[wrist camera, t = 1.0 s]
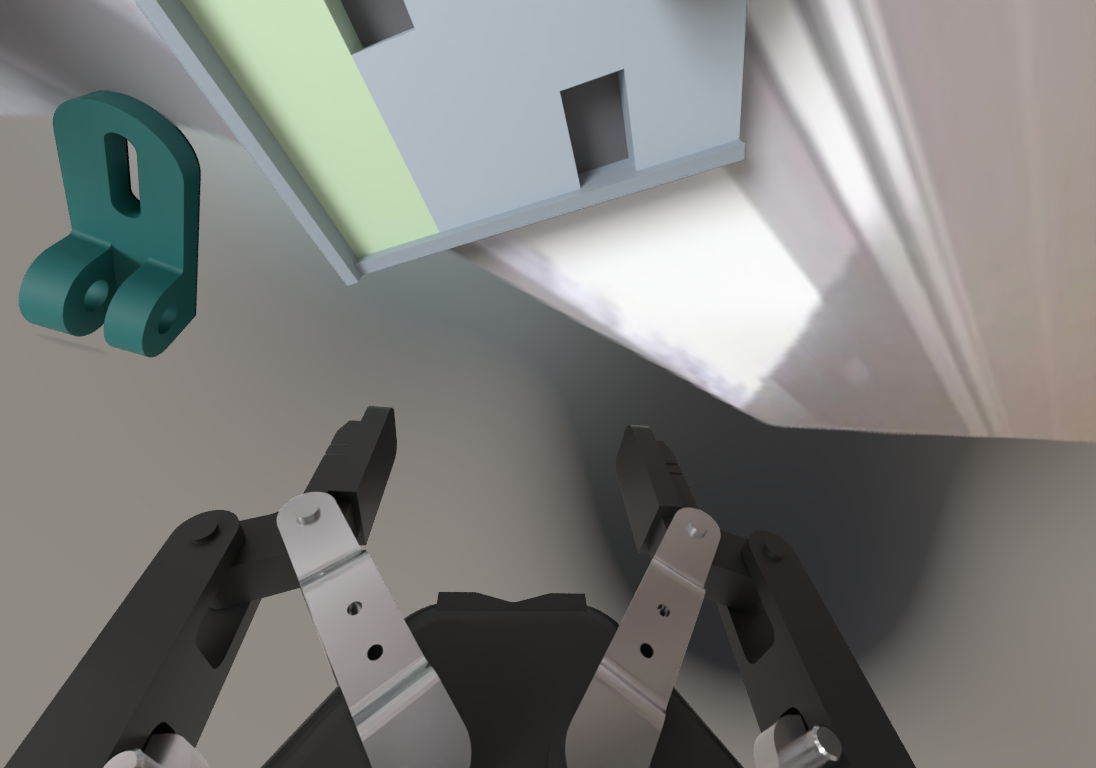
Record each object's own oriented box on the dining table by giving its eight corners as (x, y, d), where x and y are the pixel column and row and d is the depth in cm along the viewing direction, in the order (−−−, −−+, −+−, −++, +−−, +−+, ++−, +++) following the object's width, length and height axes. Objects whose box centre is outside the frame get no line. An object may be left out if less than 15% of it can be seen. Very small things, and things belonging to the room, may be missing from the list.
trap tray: (152, -63, 22) (83, -67, 18) (737, -350, 17) (794, -429, 14) (363, 253, 35) (347, 285, 32) (723, 141, 30) (750, 164, 27)
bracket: (196, 315, 39) (144, 373, 33) (103, 284, 36) (30, 342, 31) (202, 129, 28) (128, 171, 23) (71, 65, 25) (-49, 95, 20)
